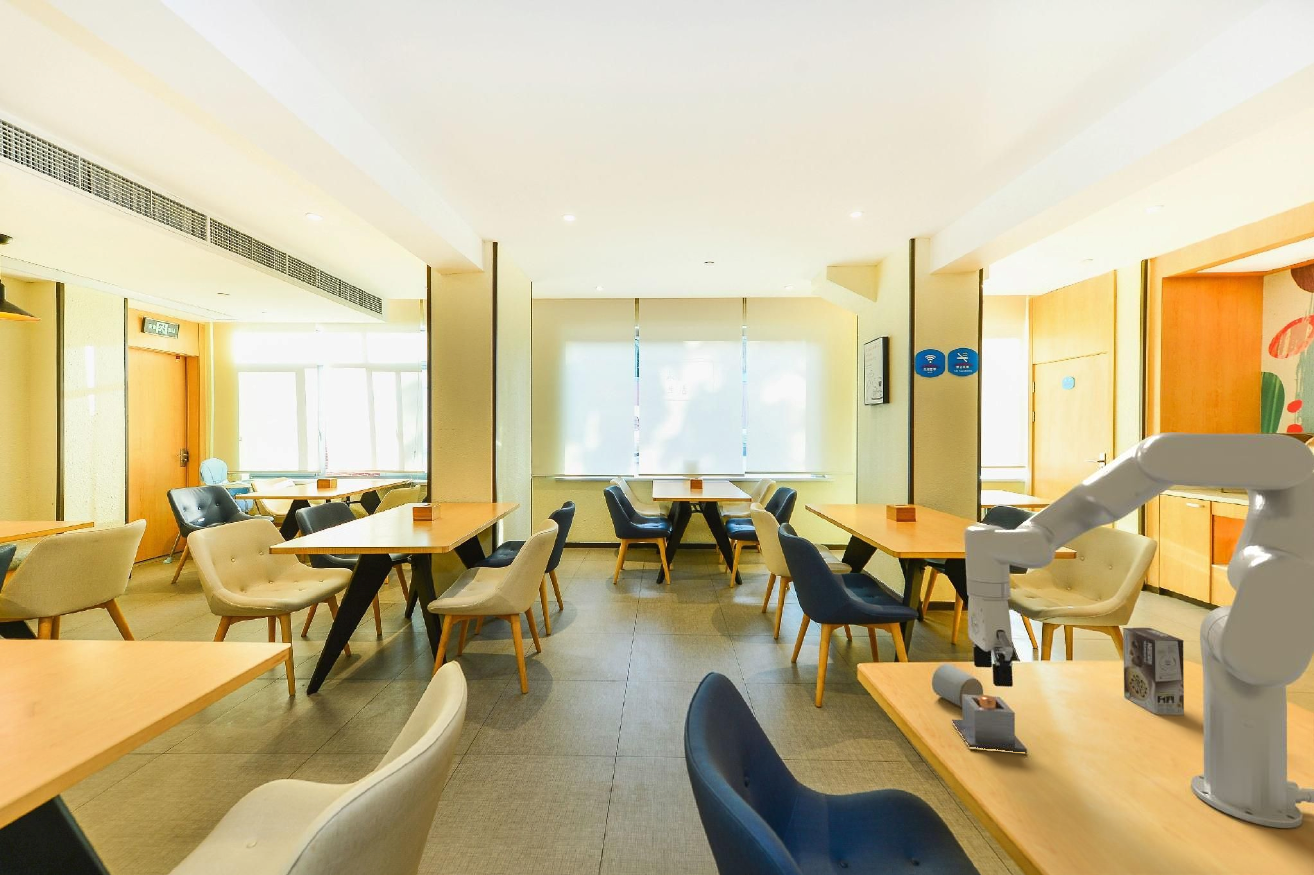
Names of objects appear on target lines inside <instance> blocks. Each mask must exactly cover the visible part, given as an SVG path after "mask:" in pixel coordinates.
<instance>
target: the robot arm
mask: <svg viewBox="0 0 1314 875" xmlns="http://www.w3.org/2000/svg"><path fill="white" fill-rule="evenodd" d="M1174 486H1184V487H1197V488H1198V487H1199V488H1218V489H1238V490H1239V489H1243V490H1245V491H1246V493H1247V497H1248V509H1247V513H1246V514H1247V515H1246V517H1245V521H1244V525H1243V527H1242V530H1241V533H1240V536H1239V538H1238V541H1237V544H1236V546H1235V549H1234V552H1233V554H1232V556H1231V559H1230V561H1229V563H1228V565H1227V570H1226V575H1227V576H1226V577H1227V580H1228V583H1229V584H1230V586H1231V587H1232V589H1233V590H1234V591H1235V595H1234V599H1233V602H1232V604H1231V605H1223V606H1219V607H1217V608H1215V609H1213V610H1211V611H1210V612H1208V613H1207V614H1206V615H1205V616H1204V618H1203V620H1202V622H1201V624H1200V630H1199V641H1200V642H1199V643H1200V652H1201V654H1200V655H1201V662H1202V663H1201V664H1202V675H1203V676H1202V678H1203V679H1202V680H1203V685H1202V686H1203V687H1202V688H1203V689H1202V690H1203V701H1202V702H1203V705H1202V706H1203V707H1202V708H1203V709H1202V710H1203V714H1202V715H1203V774H1199V775H1195V776H1194V777H1192V778H1191V779H1190V787H1191V790H1192V791H1193V793H1194V794H1195V795H1196V796H1197V797H1198V798H1199V799H1201V800H1202V801H1203V802H1205V803H1206V804H1207V805H1209V806H1211V807H1213V808H1215V809H1216V810H1218V811H1221V812H1223V813H1225V814H1227V815H1230V816H1233V817H1235V818H1237V819H1240V820H1242V821H1247V822H1248V823H1249V822H1250V823H1253V824H1258V825H1261V826H1266V827H1271V828H1279V829H1280V828H1281V829H1289V828H1290V829H1292V828H1297V827H1299V826H1301V825H1302V823H1303V814H1302V812H1301V810H1300V808H1299V807H1297V806H1296V804H1301V803H1302V802H1306V803H1311V804H1314V788H1305V787H1304V788H1299V785H1298V783H1297V782H1296V781H1291V780H1288V734H1287V733H1288V732H1287V731H1288V730H1287V729H1288V727H1287V724H1288V719H1287V718H1288V703H1287V700H1288V698H1287V687H1286V686H1289V685H1291V684H1293V683H1295V682H1296V681H1297V680H1299V679H1300V678H1301V677H1302V676H1303V674H1304V673H1305V671H1307V668H1308V667H1309V665H1310V662H1311V660H1312V658H1313V656H1314V453H1313V451H1312V449H1311V448H1310V447H1309V446H1308V445H1306V443H1304V442H1303V441H1302V440H1299V439H1298V438H1295V437H1293V436H1290V435H1287V434H1281V433H1192V432H1191V433H1189V432H1159V433H1156V434H1152V435H1149V436H1148V437H1145V438H1144V439H1143V440H1140V441H1139V442H1138V443H1136V444H1135V445H1133V446H1132V447H1130V448H1129V449H1127V450H1126V451H1125V452H1123V453H1122V454H1120V455H1119V456H1117V457H1116V458H1114V459H1113V460H1112V461H1109V463H1107V464H1106V465H1105V466H1103V467H1102V468H1100V469H1098V470H1097V471H1095V472H1094V473H1093V474H1091V475H1090V476H1088V477H1087V478H1085V479H1084V480H1082V481H1080V482H1079V483H1077V485H1075V486H1074V487H1072V488H1071V489H1069V491H1067V492H1066V493H1065V494H1063V495H1062V496H1061V497H1059V498H1057V499H1056V500H1054V502H1051V503H1050V504H1049V505H1047V506H1046V507H1044V508H1043V509H1041V510H1040V511H1038V512H1037V513H1036V514H1034V515H1032V516H1031V517H1029V518H1028V519H1027V520H1026V521H1024V522H1023V523H1021V524H1020V525H1018V526H1016V528H1014V529H1005V528H1004V527H1001V526H999V525H991V524H987V525H986V524H978V525H975V524H974V525H971V526H970V525H969V526H968V527H966V528H965V530H964V534H963V535H964V536H963V537H964V538H963V539H964V553H965V554H964V556H965V557H964V558H965V571H966V572H965V575H966V593H967V596H968V603H967V635H968V637H969V639H970V640H971V641H972V645H973V649H972V650H973V665H974V666H975V668H992V682H993V683H992V684H993V685H994V686H995V687H1005V688H1006V687H1008V688H1009V687H1013V685H1014V682H1013V665H1014V663H1013V660H1014V658H1013V653H1014V648H1013V636H1012V634H1013V633H1012V626H1011V625H1012V623H1011V616H1010V615H1011V614H1010V607H1009V602H1008V600H1011V598H1012V593H1011V592H1012V591H1011V573H1010V566H1014V567H1019V568H1023V569H1031V570H1035V569H1042V568H1045V567H1047V566H1048V565H1050V564H1051V563H1052V562H1053V561H1054V559H1055V557H1056V551H1058V550H1059V549H1061V548H1062V547H1065V545H1067V544H1069V543H1070V542H1072V541H1073V540H1075V539H1077V538H1078V537H1079V536H1082V535H1084V534H1085V533H1087V532H1089V531H1091V530H1094V529H1096V528H1098V527H1101V526H1107V525H1111V524H1113V523H1115V522H1117V521H1119V520H1122V519H1124V518H1126V516H1128V515H1129V514H1132V513H1133V512H1135V511H1136V510H1137V509H1139V508H1141V507H1142V506H1143V505H1145V504H1147V503H1149V502H1151V500H1153V499H1154V498H1156V497H1157V496H1159V495H1161V494H1163V493H1164V492H1166V491H1167V490H1169V489H1170V488H1172V487H1174ZM998 654H999V655H998ZM992 660H993V661H992ZM993 662H994V663H993Z"/></svg>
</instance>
